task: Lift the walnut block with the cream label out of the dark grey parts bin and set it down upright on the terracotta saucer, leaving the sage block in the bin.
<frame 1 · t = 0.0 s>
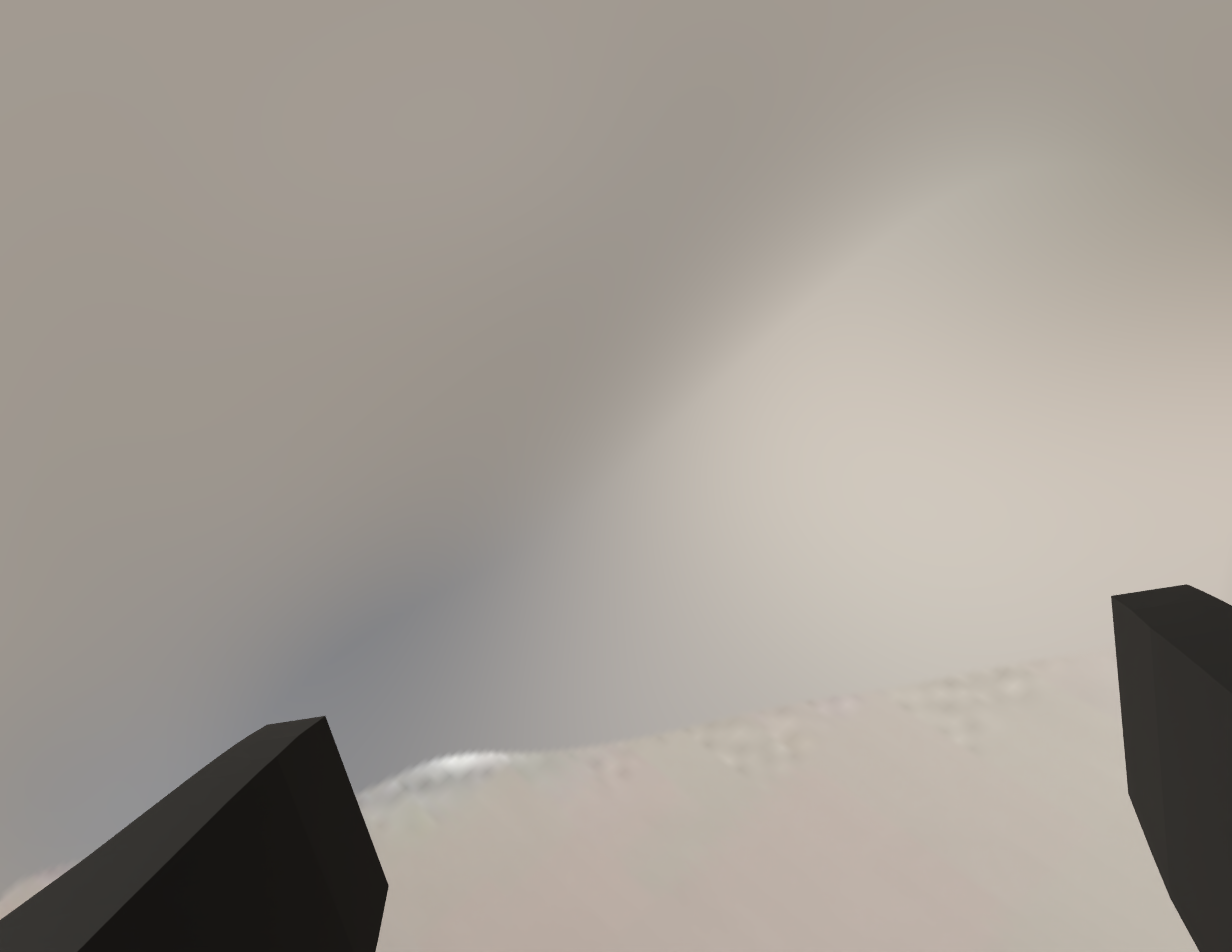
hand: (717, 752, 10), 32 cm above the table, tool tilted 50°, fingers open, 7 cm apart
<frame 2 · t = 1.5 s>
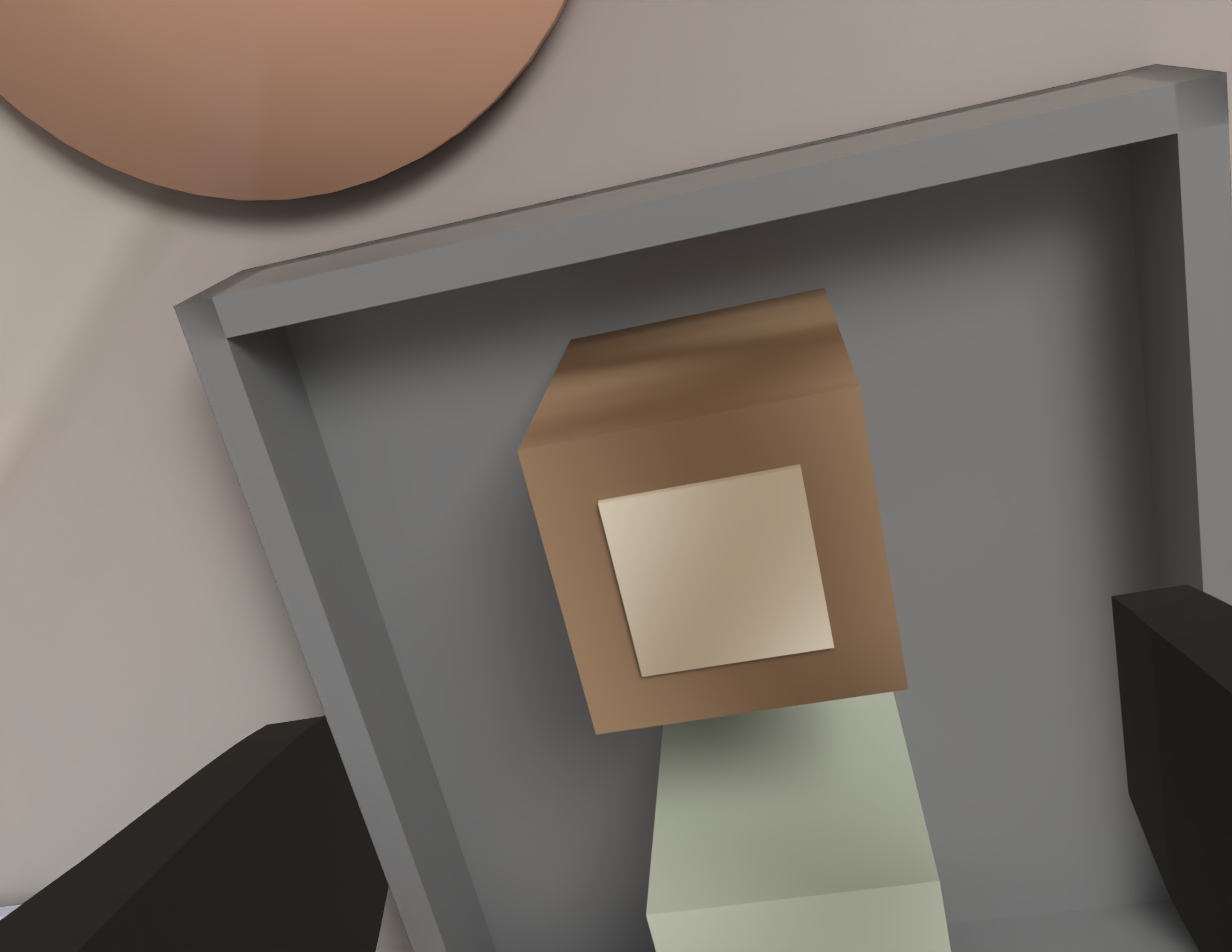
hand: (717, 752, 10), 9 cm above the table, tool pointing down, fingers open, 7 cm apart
walnut block: (720, 433, 18), resting on parts bin
parts bin: (759, 608, 20), on the table
sage block: (794, 789, 21), resting on parts bin
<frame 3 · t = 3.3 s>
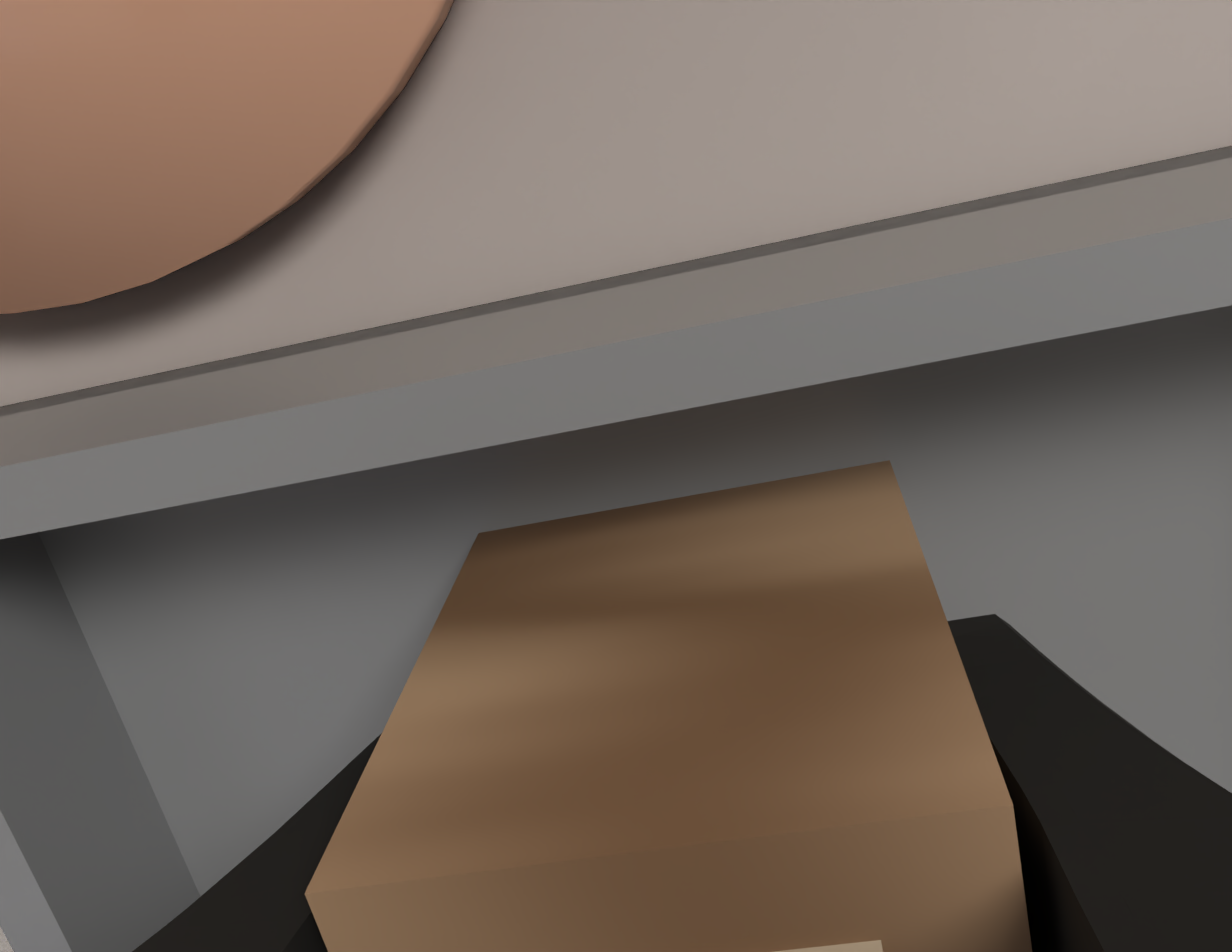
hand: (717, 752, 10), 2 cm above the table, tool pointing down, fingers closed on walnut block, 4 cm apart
walnut block: (718, 676, 12), resting on parts bin, touching gripper
parts bin: (777, 910, 13), on the table
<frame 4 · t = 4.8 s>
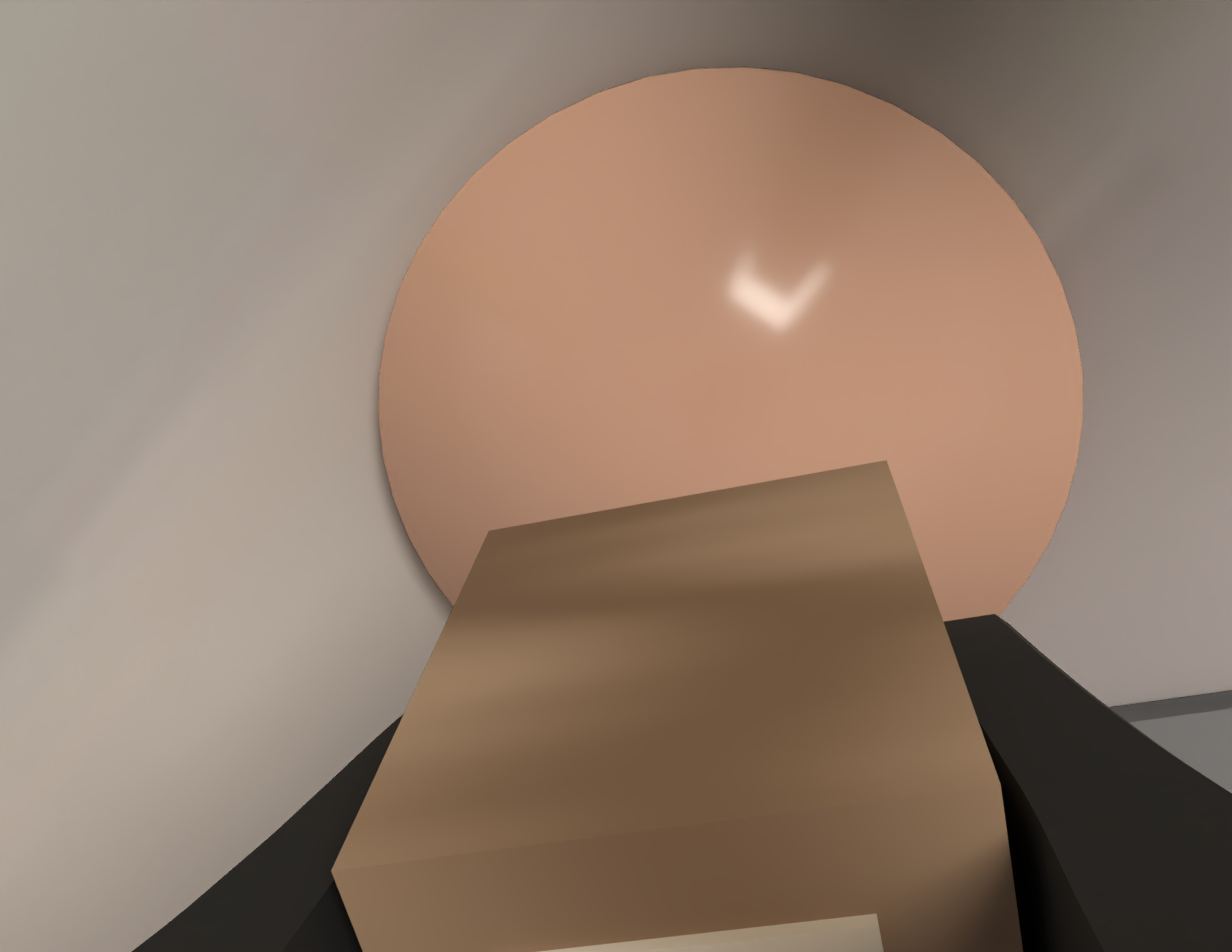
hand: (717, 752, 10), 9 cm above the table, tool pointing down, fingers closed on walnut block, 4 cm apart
walnut block: (721, 669, 12), point 7 cm above the table, touching gripper
saucer: (720, 425, 19), on the table
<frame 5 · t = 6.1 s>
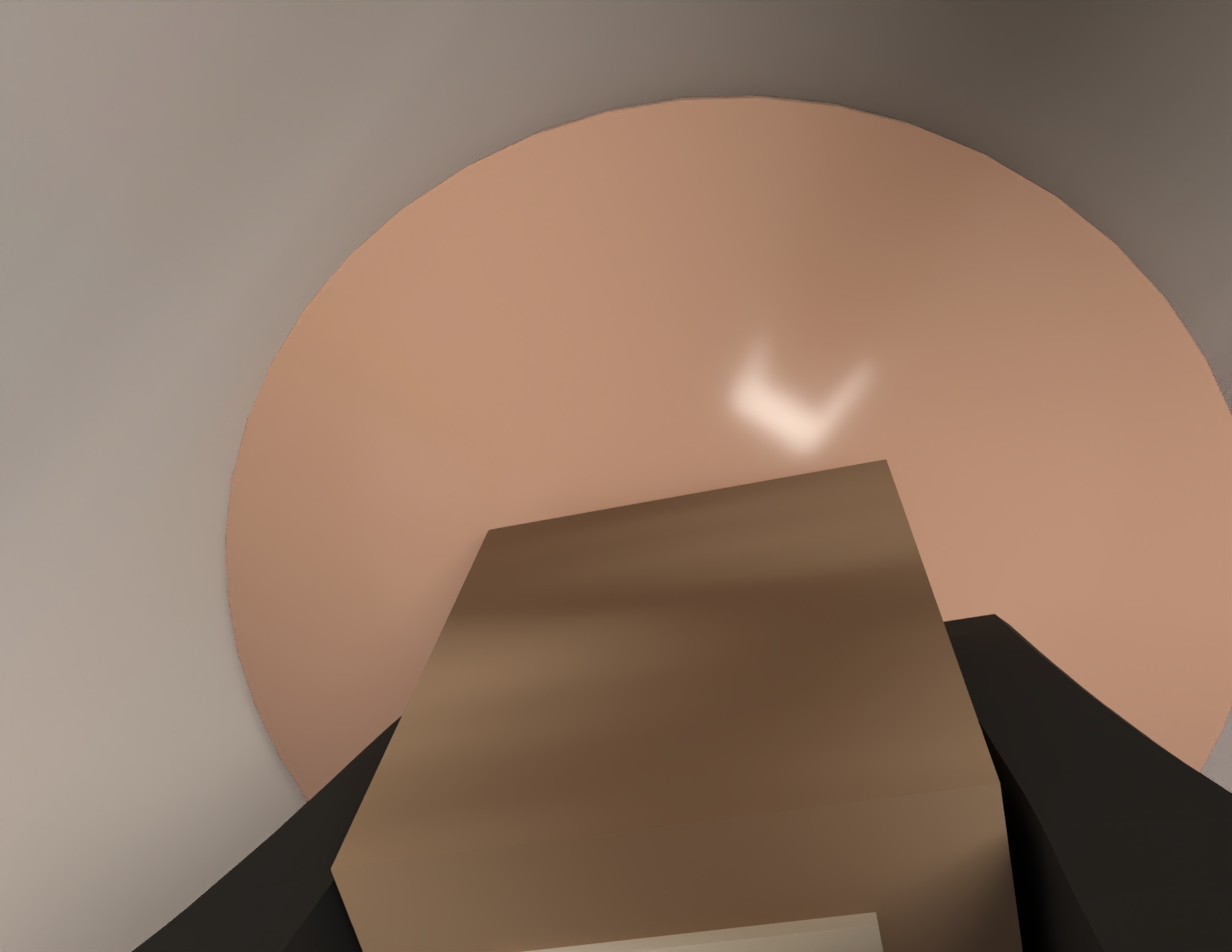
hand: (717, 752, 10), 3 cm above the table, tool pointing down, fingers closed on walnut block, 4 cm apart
walnut block: (720, 668, 12), point 1 cm above the table, touching gripper
saucer: (720, 605, 13), on the table
when the fingers open (3 cm above the table, at t = 6.7 s): walnut block stays where it is, resting on saucer.
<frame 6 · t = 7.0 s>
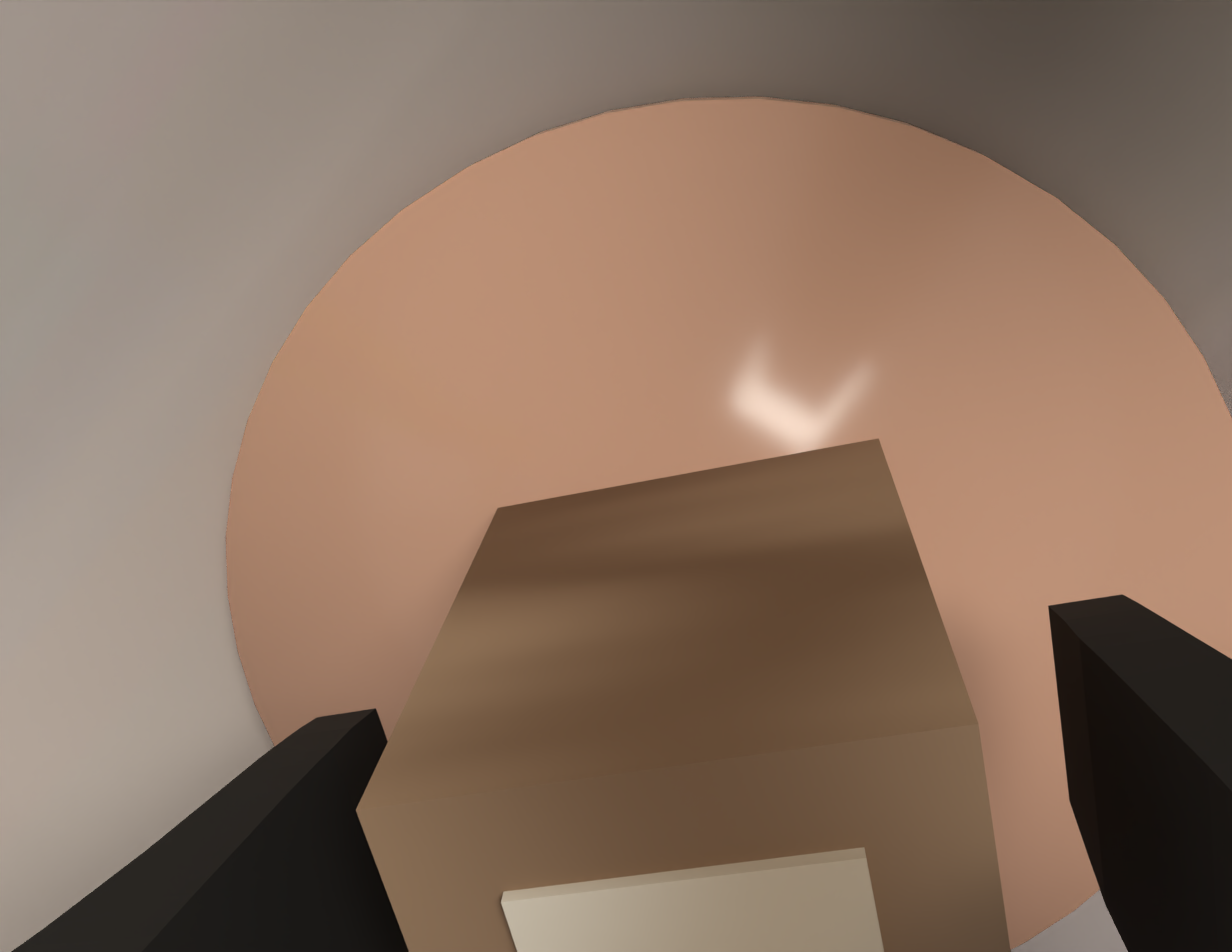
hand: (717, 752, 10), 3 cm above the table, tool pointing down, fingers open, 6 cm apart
walnut block: (720, 641, 13), point 1 cm above the table, touching saucer
saucer: (719, 605, 13), on the table
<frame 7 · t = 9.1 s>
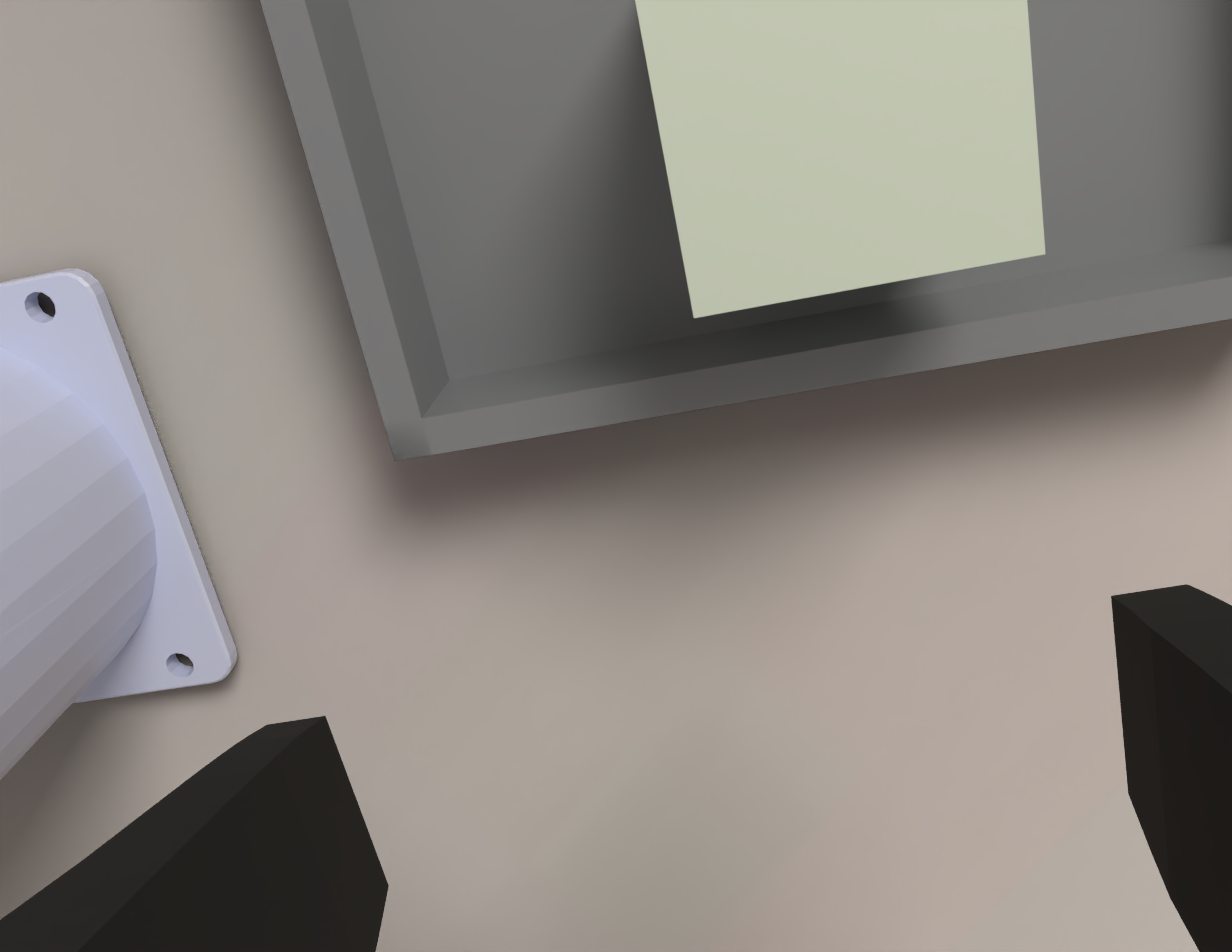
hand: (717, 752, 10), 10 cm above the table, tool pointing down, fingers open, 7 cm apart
sage block: (807, 83, 17), resting on parts bin
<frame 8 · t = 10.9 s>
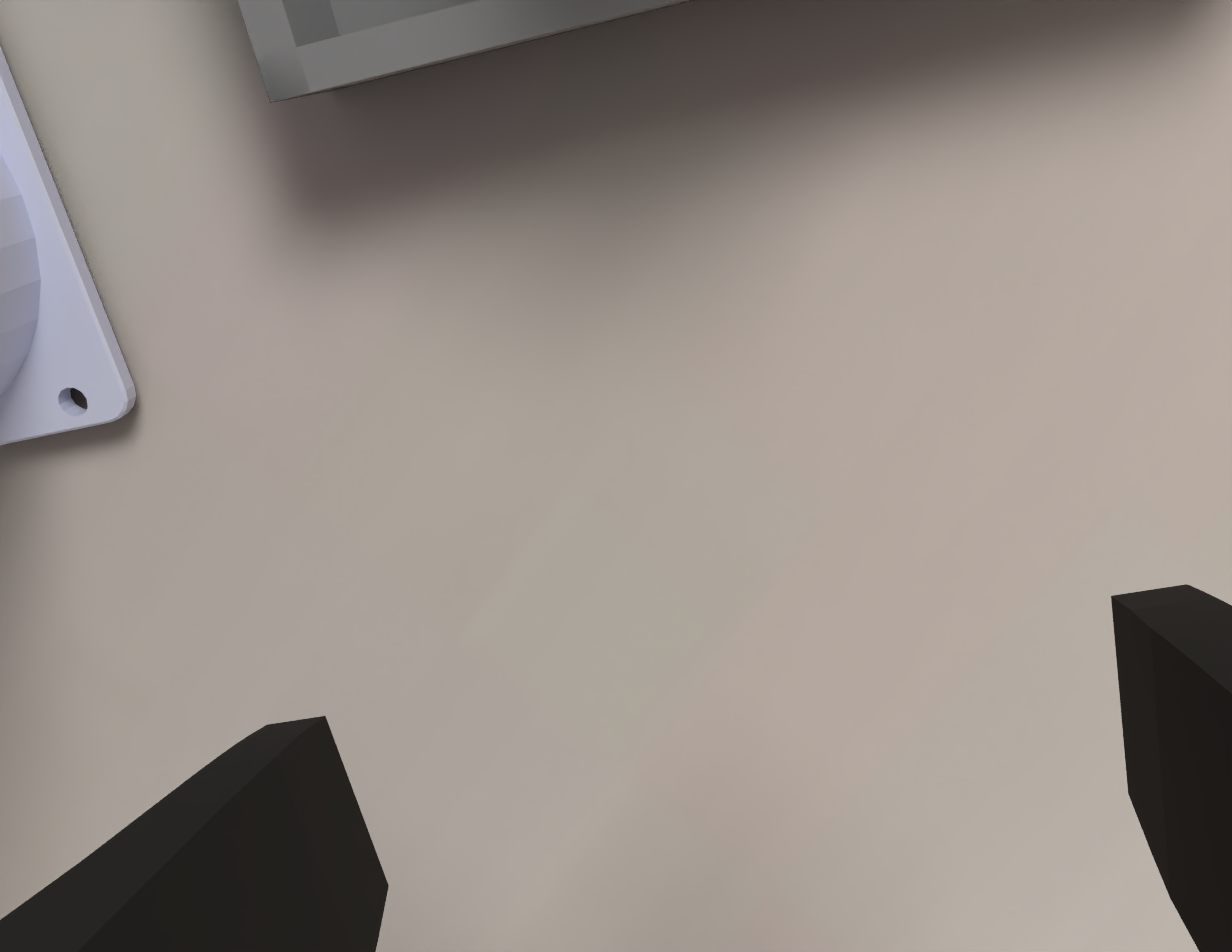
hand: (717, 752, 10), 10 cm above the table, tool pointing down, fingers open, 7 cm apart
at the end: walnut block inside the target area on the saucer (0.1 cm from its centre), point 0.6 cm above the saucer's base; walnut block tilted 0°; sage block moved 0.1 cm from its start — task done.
